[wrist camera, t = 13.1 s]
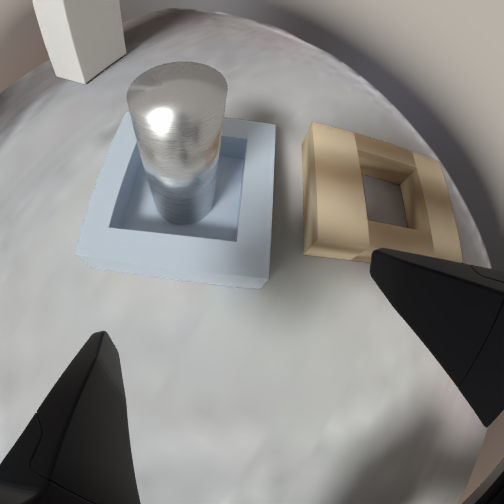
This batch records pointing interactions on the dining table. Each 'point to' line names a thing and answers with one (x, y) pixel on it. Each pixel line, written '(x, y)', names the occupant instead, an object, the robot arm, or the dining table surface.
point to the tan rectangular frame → (353, 200)
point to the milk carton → (81, 36)
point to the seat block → (185, 236)
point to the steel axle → (179, 136)
